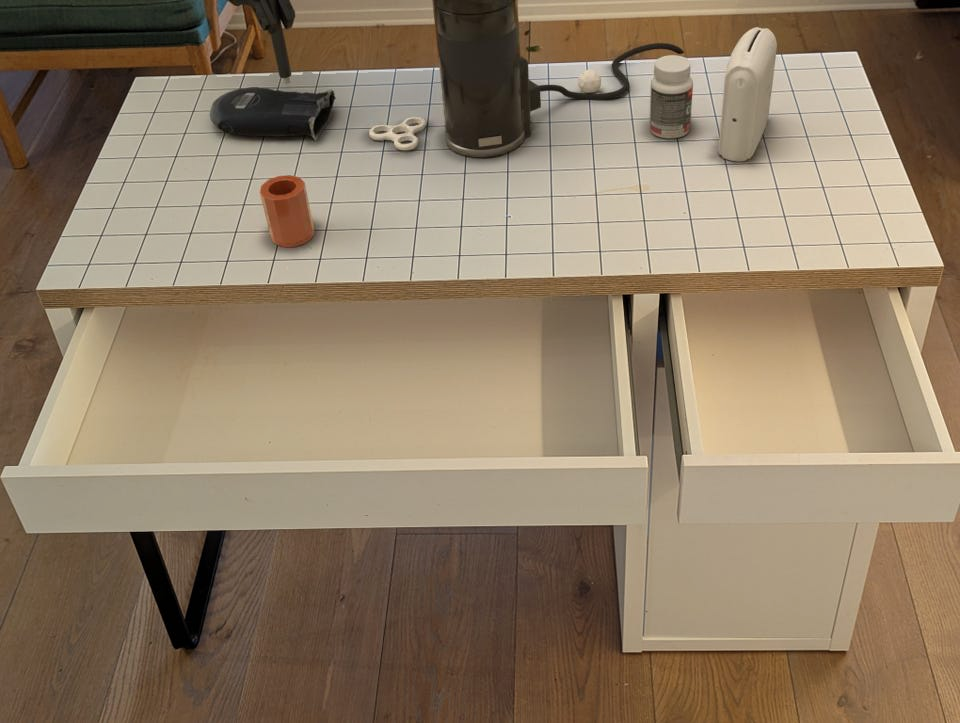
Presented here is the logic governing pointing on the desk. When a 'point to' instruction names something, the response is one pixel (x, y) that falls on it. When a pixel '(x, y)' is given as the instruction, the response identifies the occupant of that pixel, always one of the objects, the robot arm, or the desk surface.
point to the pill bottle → (671, 97)
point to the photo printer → (747, 94)
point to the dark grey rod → (280, 44)
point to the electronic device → (272, 112)
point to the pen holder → (287, 210)
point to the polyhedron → (589, 81)
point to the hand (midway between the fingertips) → (281, 27)
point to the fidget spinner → (400, 137)
